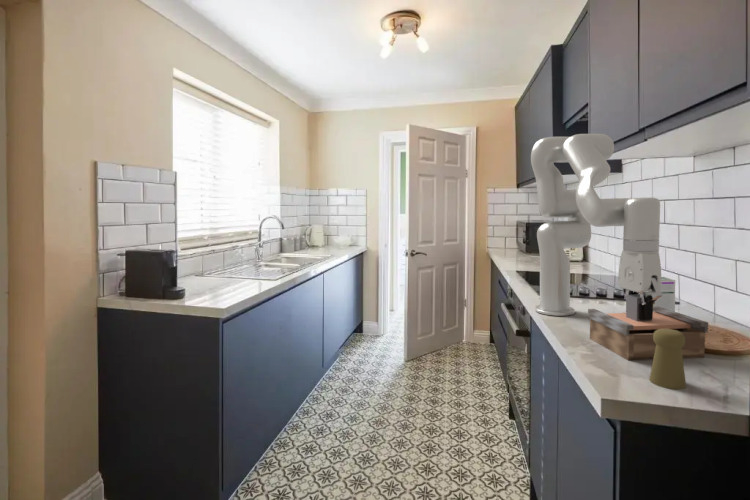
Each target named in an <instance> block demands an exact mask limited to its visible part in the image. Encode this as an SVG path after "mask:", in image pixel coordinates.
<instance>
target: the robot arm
mask: <svg viewBox="0 0 750 500" xmlns="http://www.w3.org/2000/svg"><path fill="white" fill-rule="evenodd" d="M614 150H615V144H614V140H613V139H612V138H611V137H610V136H609V135H607V134H604V133H578V134H577V133H576V134H574V135H571V136H548V137H547V136H546V137H543V138H540V139H539V140H537V141H536V142H535V143H534V144H533V147H532V148H531V153H530V163H531V164H530V165H531V167H532V171H533V174H534V178H535V182H536V193H537V202H538V209H539V212H540V215H541V216H542V217H544V218H550V219H554V218H555V219H556V218H557V219H559V218H560V219H561V218H567V220H557V221H556V220H555V221H549V222H544V223H543V224H541V225H540V226H539V227H538V228H537V230H536V231H537V232H536V238H537V245H538V250H539V252H538V253H539V297H538V299H539V304H538V305H535V307H534V311H535V312H537V313H540V314H542V315H548V316H556V317H557V316H559V317H560V316H561V317H563V316H565V317H566V316H572V315H574V314H575V313H576V312H575V308H573V307H571V305H570V304H571V291H570V290H571V262H570V258H569V256H568V254H567V253H566V251H565V249H580V248H584V247H586V246H587V245H588V244H589V243H590V242H591V238H592V226H594V227H596V228H597V227H598V228H602V227H603V228H604V227H605V228H607V227H623V237H622V238H623V241H622V242H623V243H622V244H623V245H622V252H621V253H620V259H619V263H618V264H619V266H618V276H617V278H618V279H617V285H618V286H619V288H621V290H622V291H623V293H624V299H625V301H626V300H627V295H630V294H640V300H641V304H639V319H640V320H652V318H653V305H654V304H655V301H656V300H657V299H658V298H660V297H662V293H661V290H660V289H661V277H662V266H661V265H662V263H661V258H660V229H661V228H660V226H661V225H660V222H661V221H660V220H661V201H660V200H659V199H658V198H657V197H635V198H634V197H633V198H632V197H628V198H626V197H624V198H623V197H622V198H619V197H618V198H600V196H599V194H598V193H597V192H596V191H595V188H594V187H595V186H597V185H599V184H601V183H602V182H603V181H604V180H606V179H607V178H608V177H609V175H610V173H611V166H610V164H609V163H608V161H607V160H609V159H610V158H611V157H612V156H613V154H614ZM554 163H568V164H569V165H570V167H571V169H572V170H573V172H574V174H575V176H576V177H577V179H578V180H579V181H578V184H577V186H576V189H565V186H564V185H565V184H564V178H563V175H562V172H561V171H560V170H559V168H557V166H556V165H555V164H554ZM645 291H649V292H645ZM645 294H649V295H648V296H647V297H645Z"/></svg>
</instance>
